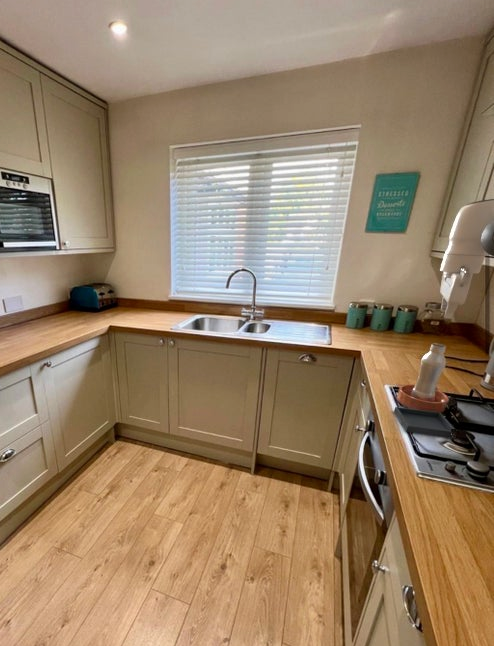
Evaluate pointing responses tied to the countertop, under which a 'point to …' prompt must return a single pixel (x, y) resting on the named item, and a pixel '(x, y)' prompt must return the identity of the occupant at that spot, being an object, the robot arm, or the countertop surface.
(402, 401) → the bowl
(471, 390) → the countertop surface
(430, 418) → the tray
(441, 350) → the plastic bottle
